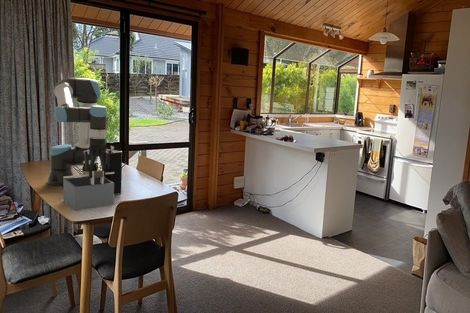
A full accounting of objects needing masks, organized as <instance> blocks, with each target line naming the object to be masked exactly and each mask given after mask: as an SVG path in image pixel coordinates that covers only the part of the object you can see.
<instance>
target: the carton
mask: <svg viewBox="0 0 470 313" xmlns="http://www.w3.org/2000/svg"><path fill="white" fill-rule="evenodd" d="M62 190H63V194H62V195H63V202H65V204H67V205H68V206H69V207H70V208H71V209H72V210H73V211H82V210H89V209H95V208H100V207H101V208H103V207H108V206H114V205H115V202H114V201H115V195H114V183H113V182H112V181H110V180H108V179H107V178H105V177H104V184H102V183H100V177H97V178H94V185H92V184H91V178H89V176H87V177H74V178H66V179H63V189H62Z"/></svg>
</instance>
